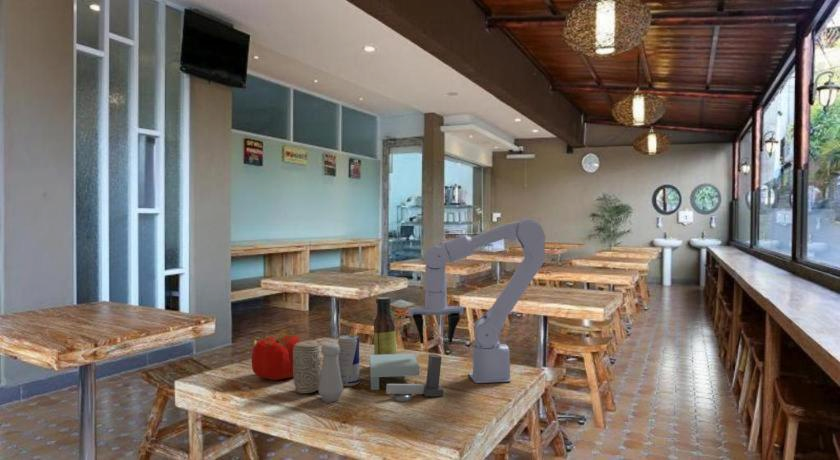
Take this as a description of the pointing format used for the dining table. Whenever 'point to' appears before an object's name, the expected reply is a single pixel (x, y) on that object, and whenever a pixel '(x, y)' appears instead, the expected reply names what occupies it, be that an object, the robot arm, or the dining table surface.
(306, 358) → the carving
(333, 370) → the salt shaker
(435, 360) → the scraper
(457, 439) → the dining table surface
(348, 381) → the energy drink
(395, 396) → the token
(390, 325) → the sauce bottle
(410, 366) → the pale grey angled bracket
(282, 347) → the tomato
